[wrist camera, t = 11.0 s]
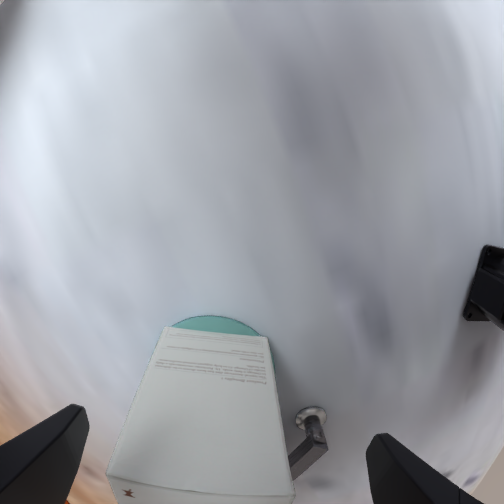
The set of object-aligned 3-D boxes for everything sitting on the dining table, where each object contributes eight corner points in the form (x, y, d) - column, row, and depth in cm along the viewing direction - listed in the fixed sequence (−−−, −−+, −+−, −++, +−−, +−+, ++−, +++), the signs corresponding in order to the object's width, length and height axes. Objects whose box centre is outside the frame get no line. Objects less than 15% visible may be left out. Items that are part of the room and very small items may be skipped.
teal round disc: (284, 323, 21) (285, 326, 21) (264, 415, 24) (264, 419, 23) (153, 307, 21) (151, 310, 20) (155, 402, 23) (154, 406, 23)
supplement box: (164, 401, 22) (128, 537, 10) (163, 322, 21) (99, 473, 8) (257, 412, 23) (266, 553, 11) (272, 335, 21) (299, 497, 9)
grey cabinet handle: (329, 406, 24) (340, 441, 20) (303, 467, 26) (309, 498, 22) (236, 402, 23) (235, 439, 19) (226, 464, 26) (225, 497, 22)
